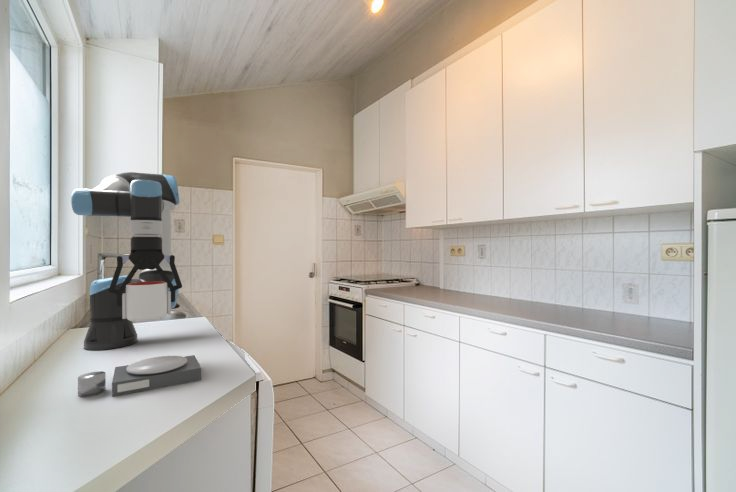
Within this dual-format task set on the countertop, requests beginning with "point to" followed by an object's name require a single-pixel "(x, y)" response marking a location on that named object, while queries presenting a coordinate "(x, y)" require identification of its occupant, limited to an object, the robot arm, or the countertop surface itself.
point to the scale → (155, 374)
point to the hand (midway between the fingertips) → (147, 315)
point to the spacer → (91, 384)
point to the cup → (146, 301)
